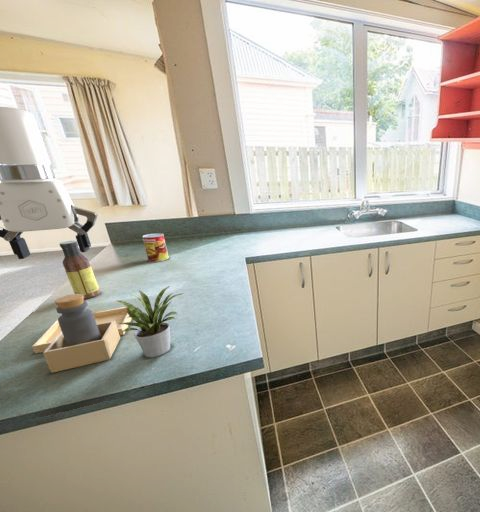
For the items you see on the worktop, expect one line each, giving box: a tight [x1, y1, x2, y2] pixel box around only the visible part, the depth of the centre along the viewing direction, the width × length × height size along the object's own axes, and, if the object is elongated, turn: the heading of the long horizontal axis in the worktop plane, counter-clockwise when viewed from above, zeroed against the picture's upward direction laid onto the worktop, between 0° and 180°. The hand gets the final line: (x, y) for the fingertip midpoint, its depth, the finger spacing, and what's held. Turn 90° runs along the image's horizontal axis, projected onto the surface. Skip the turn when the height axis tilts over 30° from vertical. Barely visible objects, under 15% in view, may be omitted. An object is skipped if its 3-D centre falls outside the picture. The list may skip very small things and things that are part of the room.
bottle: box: [54, 293, 101, 347], centre depth 71 cm, size 6×6×15 cm
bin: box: [42, 321, 121, 374], centre depth 73 cm, size 10×10×5 cm
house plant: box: [111, 285, 185, 358], centre depth 73 cm, size 14×14×16 cm
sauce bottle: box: [59, 240, 101, 300], centre depth 101 cm, size 6×6×20 cm
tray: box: [31, 306, 133, 355], centre depth 83 cm, size 17×15×2 cm
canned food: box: [142, 232, 170, 263], centre depth 140 cm, size 8×8×12 cm
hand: (56, 253), depth 66 cm, fingers open, 9 cm apart
